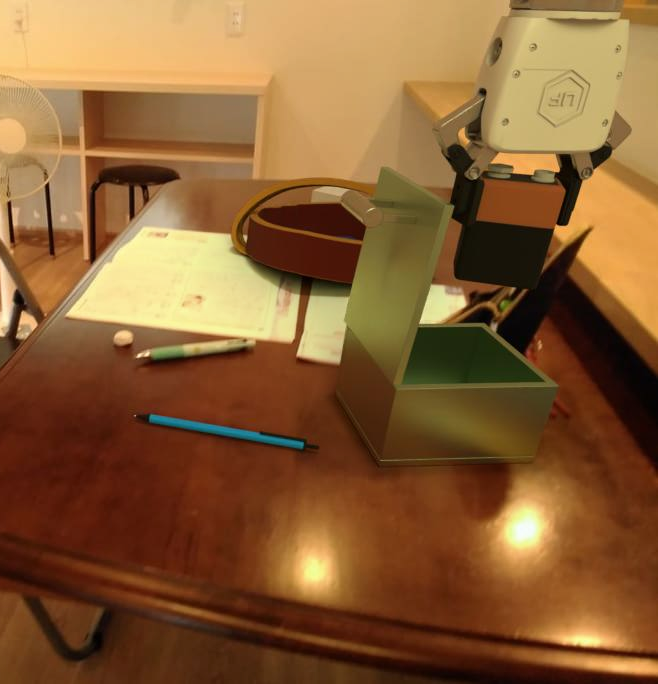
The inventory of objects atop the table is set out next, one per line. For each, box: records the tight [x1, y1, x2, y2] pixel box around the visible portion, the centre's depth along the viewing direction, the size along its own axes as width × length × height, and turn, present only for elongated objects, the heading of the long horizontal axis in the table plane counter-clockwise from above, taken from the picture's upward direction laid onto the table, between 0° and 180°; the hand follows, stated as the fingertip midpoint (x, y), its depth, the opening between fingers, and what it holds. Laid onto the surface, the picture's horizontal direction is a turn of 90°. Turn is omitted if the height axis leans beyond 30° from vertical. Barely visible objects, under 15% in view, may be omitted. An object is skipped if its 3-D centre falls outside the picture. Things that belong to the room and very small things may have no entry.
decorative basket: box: [230, 176, 376, 284], centre depth 112 cm, size 34×29×15 cm
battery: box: [452, 162, 566, 291], centre depth 60 cm, size 4×7×10 cm, turn 69°
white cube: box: [310, 186, 349, 202], centre depth 138 cm, size 6×6×6 cm
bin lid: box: [341, 166, 454, 385], centre depth 64 cm, size 17×14×6 cm
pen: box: [133, 413, 320, 451], centre depth 70 cm, size 1×19×1 cm, turn 74°
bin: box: [334, 322, 560, 468], centre depth 71 cm, size 16×14×9 cm
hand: (507, 220), depth 60 cm, fingers closed on battery, 7 cm apart
